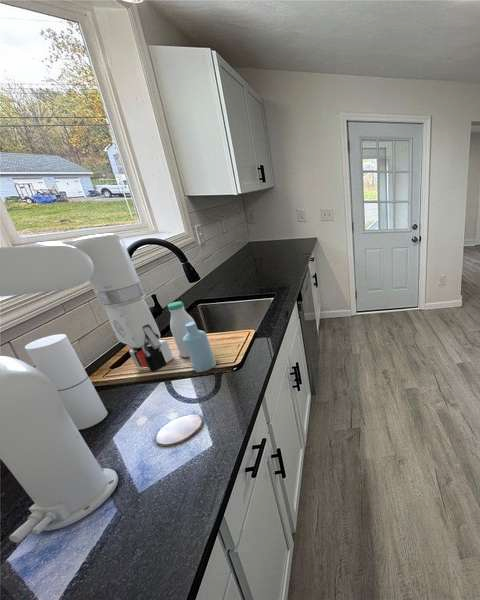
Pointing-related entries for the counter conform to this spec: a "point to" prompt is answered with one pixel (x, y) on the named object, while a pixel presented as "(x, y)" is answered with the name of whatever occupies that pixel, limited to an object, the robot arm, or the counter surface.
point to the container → (164, 350)
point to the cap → (142, 358)
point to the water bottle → (198, 348)
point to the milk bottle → (179, 325)
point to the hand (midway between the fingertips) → (153, 365)
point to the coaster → (179, 430)
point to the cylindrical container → (68, 379)
